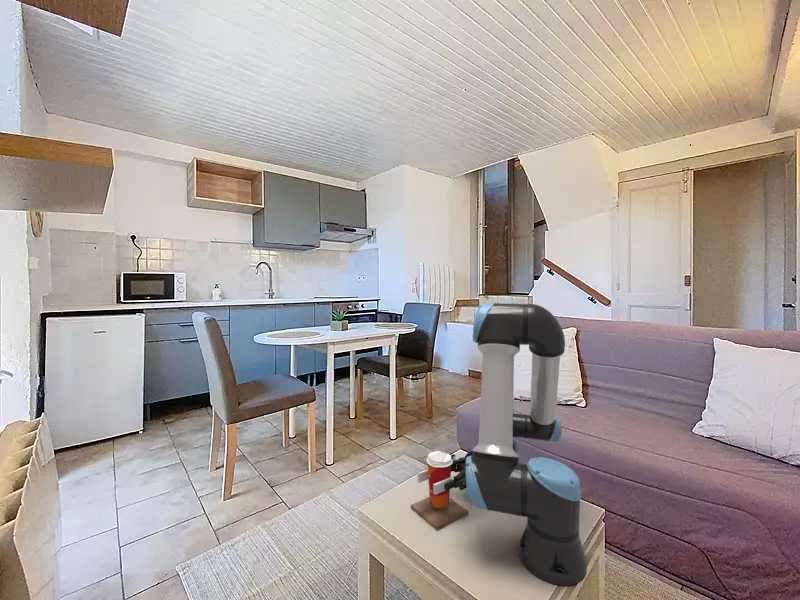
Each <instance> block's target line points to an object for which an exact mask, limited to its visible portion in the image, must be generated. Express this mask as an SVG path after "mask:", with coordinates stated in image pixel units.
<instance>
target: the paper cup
mask: <svg viewBox="0 0 800 600" xmlns="http://www.w3.org/2000/svg"><path fill="white" fill-rule="evenodd" d="M425 460H426V463H427V469H428V489H429V490H428V491H429V493H428V495H429V497H430V504H431V505H432V506H433V507H436V508H445V507H447V506H448V505H449V498H450V497H451V489H449V490H445V491H443V492H440V493H438V494H436V495H435V494H433V484H435V483H437V482H440V481H442V480H445V479H447V478H449V477H452V476H451V475H452V472H451V464H452V463H453V460H452V459H451V454H450V453H447V452H445V451H441V450H437V451H431V452H430V453H428V455H427V458H426V459H425Z"/></svg>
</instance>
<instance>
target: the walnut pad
mask: <svg viewBox="0 0 800 600" xmlns="http://www.w3.org/2000/svg"><path fill="white" fill-rule="evenodd" d="M410 509H411V510H412V511H413V512H414V513H416V514H417V515H418V516H419V517H421V519H423V521H425V522H427V524H429V525H430V526H431V527H432V528H433V529H434V530H436V531H439V530H441V529H443V528H445V527H447V526H448V525H449V526H450V525H451V524H453V523H455V522H458V521H460V519H463V518H465V517H467V516H469V510H467V509H466V508H465V507H464V506H462V505H460V504H459V503H457V502H456V501H454V500H453V499H452V498H450V497H449V505H448V506H447V507H445V508H436V507H433V506H432V505H431V504H430V496H429V497H426V498H423V499H420V500H419V501H417V502H414V503H413V504H410Z"/></svg>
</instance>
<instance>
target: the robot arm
mask: <svg viewBox="0 0 800 600" xmlns="http://www.w3.org/2000/svg"><path fill="white" fill-rule="evenodd" d="M472 329H473V330H472V341H473V342H474V343H476V344H477V349H478V350H479V352H480V353H481V354H482V363H481V385H480V387H481V388H480V409H479V430H478V431H479V432H478V443H477V445H476V446H474V447H473V448H472V449H471V450H470V451H467V453H466V455H465V456H464V457H456V454H450V456H451V459H452V460H453V463H452V464H451V473H452V472H453V473H456V475H453V477H452V476H451V477H449V478H447V479H445V480H442V481H440V482H437V483H435V484H433V494H435V495H436V494H438V493H440V492H443V491H445V490H449V489H450V490H453V489H457V488H459V490H460V491H464V490H465V489H466V492H467V498H468V501H469V503H470V505H471V506H472V507H475V508H477V509H483V510H486V511H487V512H490V511H492V512H498V513H503V514H508V515H513V516H517V517H523V518H526V525H525V527H524V529H523V532H522V534H521V536H520V537H521V538H520V539H519V543H518V544H519V546H518V553H519V557H520V562H521V563H522V564H523V566H524V567H525V568H526V569H527V570H528V571H529V572H530V573H531V574H533V576H535V577H537V578H538V579H541V580H542V581H544V582H547V583H550V584H553V585H559V586H574V585H577V584H579V583H581V582H582V581H584V579H585V578H586V576H587V573H588V572H587V570H588V568H587V567H588V561H587V560H588V559H587V557H586V554H585V550H584V547H583V543H582V541H581V537H580V509H581V507H580V505H581V498H582V493H581V487H580V485H581V484H580V478H579V477H578V475H577V474H576V472H575V471H574V470H573V469H572V468H570V467H569V466H567V465H566V464H564V463H562V462H560V461H557V460H555V459H551V458H550V457H549V458H547V457H545V456H543V457H542V456H537V457H531V458H529V460H528V462H527V463H526V464H523V463H519V458H520V448H519V444H518V442H516V440H515V439H514V438H519V439H528V440H535V441H541V442H552V443H559V442H560V441H561V439H562V431H563V430H562V422H561V419H560V418H559V417H556V412H557V402H558V389H559V388H558V387H559V386H558V385H559V376H560V365H561V364H560V363H561V356H563V355H564V354H565V349H566V340H565V339H566V338H565V333H564V329H563V328H562V325H561V324H560V322H559V320H558V319H557V317H556V316H554V314H553V313H552V312H551V311H550V310H548V309H547V308H545V307H543V306H541V305H539V304H534V303H501V302H500V303H497V302H493V303H482V304H480V305H479V306H478V307H477V310H476V313H475V316H474V322H473V327H472ZM521 345H523V346H527V345H528V350H529V352H530V353H531V357H532V358H531V381H530V385H531V386H530V408H529V412H530V413H529V414H524V413H523V414H522V413H515V411H514V379H515V377H514V376H515V370H514V369H515V356H516V355H517V354H519V353H520V351H521ZM457 473H458V474H457ZM427 480H428V481H429V479H428V468H426V469H424V470H422V471H419V472H417V483H418V484H420V483H422V482H425V481H427Z"/></svg>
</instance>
